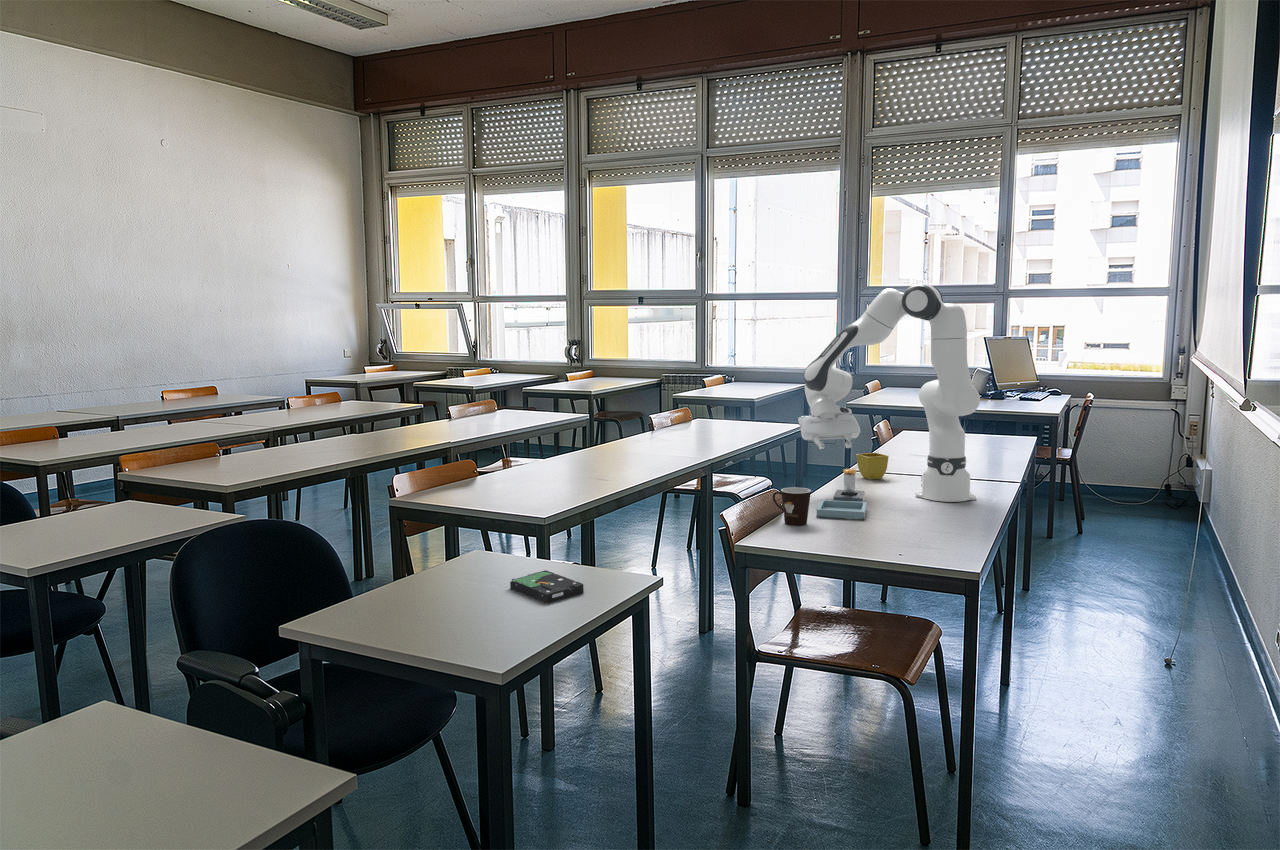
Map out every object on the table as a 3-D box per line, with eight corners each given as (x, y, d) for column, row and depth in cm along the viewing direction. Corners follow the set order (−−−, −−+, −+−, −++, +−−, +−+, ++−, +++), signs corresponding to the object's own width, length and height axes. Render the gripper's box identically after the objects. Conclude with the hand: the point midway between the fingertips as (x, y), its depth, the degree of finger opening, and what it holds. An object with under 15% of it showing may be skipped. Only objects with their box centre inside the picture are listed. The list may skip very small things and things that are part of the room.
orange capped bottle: (843, 501, 279) (843, 468, 277) (856, 501, 278) (856, 468, 276) (842, 503, 275) (842, 470, 274) (855, 504, 274) (855, 471, 272)
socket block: (836, 498, 283) (836, 489, 283) (864, 499, 280) (864, 490, 280) (833, 506, 272) (833, 496, 272) (862, 507, 269) (862, 498, 269)
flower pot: (855, 477, 320) (855, 453, 319) (875, 475, 323) (876, 452, 321) (868, 481, 312) (868, 457, 311) (888, 479, 314) (889, 455, 313)
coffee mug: (816, 525, 248) (816, 491, 246) (790, 528, 244) (791, 494, 243) (794, 516, 258) (795, 484, 257) (770, 519, 255) (770, 487, 254)
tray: (821, 507, 270) (821, 499, 270) (866, 509, 266) (866, 502, 266) (816, 517, 257) (816, 509, 257) (864, 520, 253) (864, 512, 252)
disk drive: (584, 595, 190) (545, 580, 201) (584, 583, 190) (545, 569, 200) (547, 606, 183) (509, 590, 194) (547, 594, 183) (508, 578, 193)
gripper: (798, 410, 290) (808, 442, 282) (855, 408, 294) (866, 440, 285) (794, 422, 295) (803, 454, 287) (850, 420, 298) (860, 451, 290)
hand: (835, 447), depth 286 cm, fingers open, 8 cm apart
